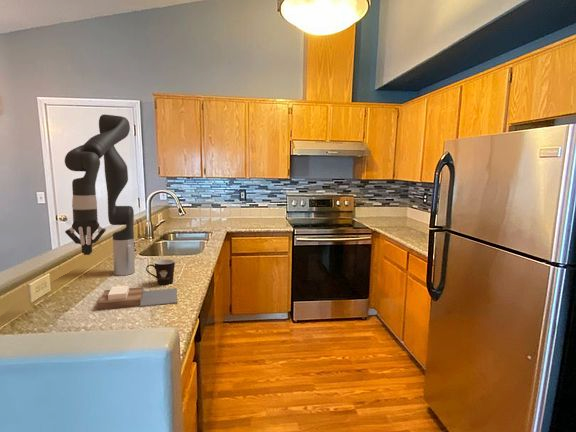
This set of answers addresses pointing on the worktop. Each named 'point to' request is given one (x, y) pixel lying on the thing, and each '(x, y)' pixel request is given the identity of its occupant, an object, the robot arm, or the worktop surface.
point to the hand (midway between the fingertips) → (87, 254)
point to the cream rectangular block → (118, 292)
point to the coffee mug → (163, 271)
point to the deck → (131, 300)
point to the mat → (159, 297)
